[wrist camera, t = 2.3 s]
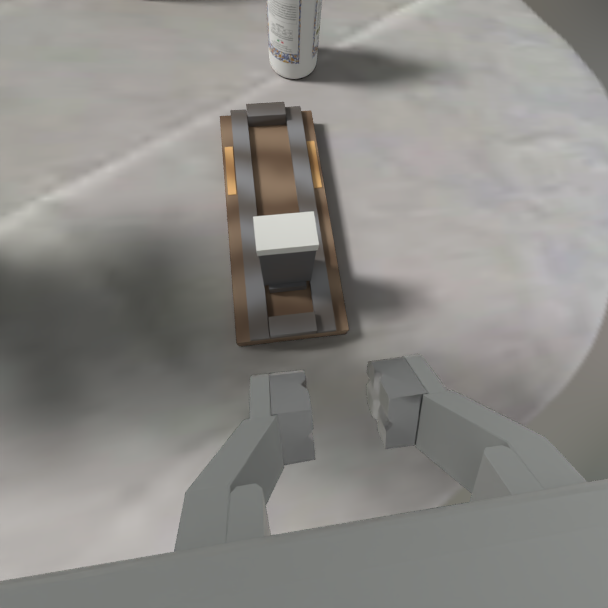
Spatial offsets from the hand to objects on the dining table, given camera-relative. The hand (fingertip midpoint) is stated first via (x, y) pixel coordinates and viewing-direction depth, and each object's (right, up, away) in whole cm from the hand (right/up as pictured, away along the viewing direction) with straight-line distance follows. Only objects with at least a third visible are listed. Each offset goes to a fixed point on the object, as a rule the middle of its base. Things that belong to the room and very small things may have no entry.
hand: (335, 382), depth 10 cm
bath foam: (-3, +38, +41) cm, 55 cm away
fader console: (-4, +12, +32) cm, 35 cm away
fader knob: (-3, +6, +28) cm, 29 cm away
